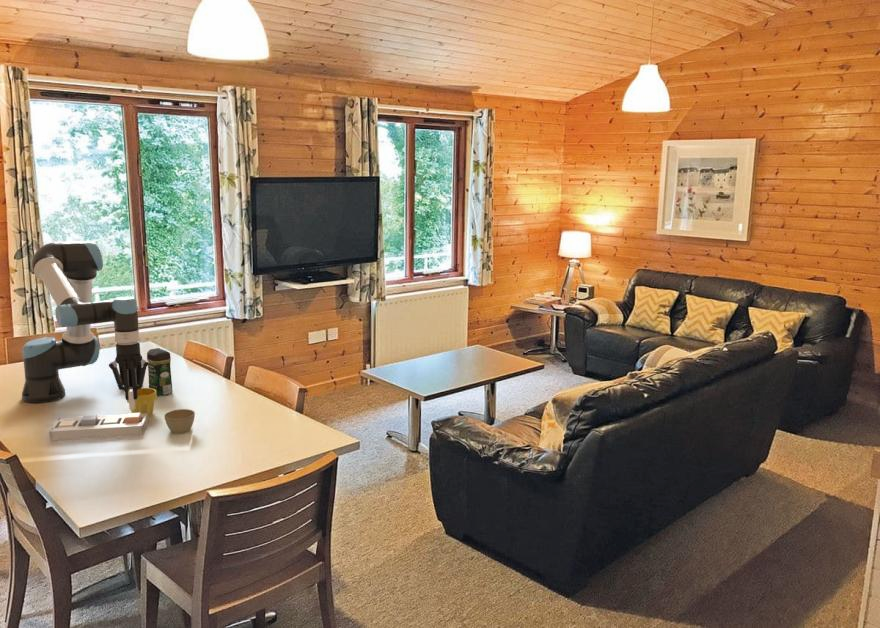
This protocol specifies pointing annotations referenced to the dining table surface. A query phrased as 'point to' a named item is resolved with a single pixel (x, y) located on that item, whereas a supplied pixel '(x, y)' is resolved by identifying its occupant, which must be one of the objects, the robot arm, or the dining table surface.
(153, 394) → the plant pot
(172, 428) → the flower pot
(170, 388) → the coffee jar
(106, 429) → the keypad
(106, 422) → the key sage
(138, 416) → the key terracotta
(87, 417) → the key slate
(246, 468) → the dining table surface
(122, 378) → the mug
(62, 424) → the key cream
